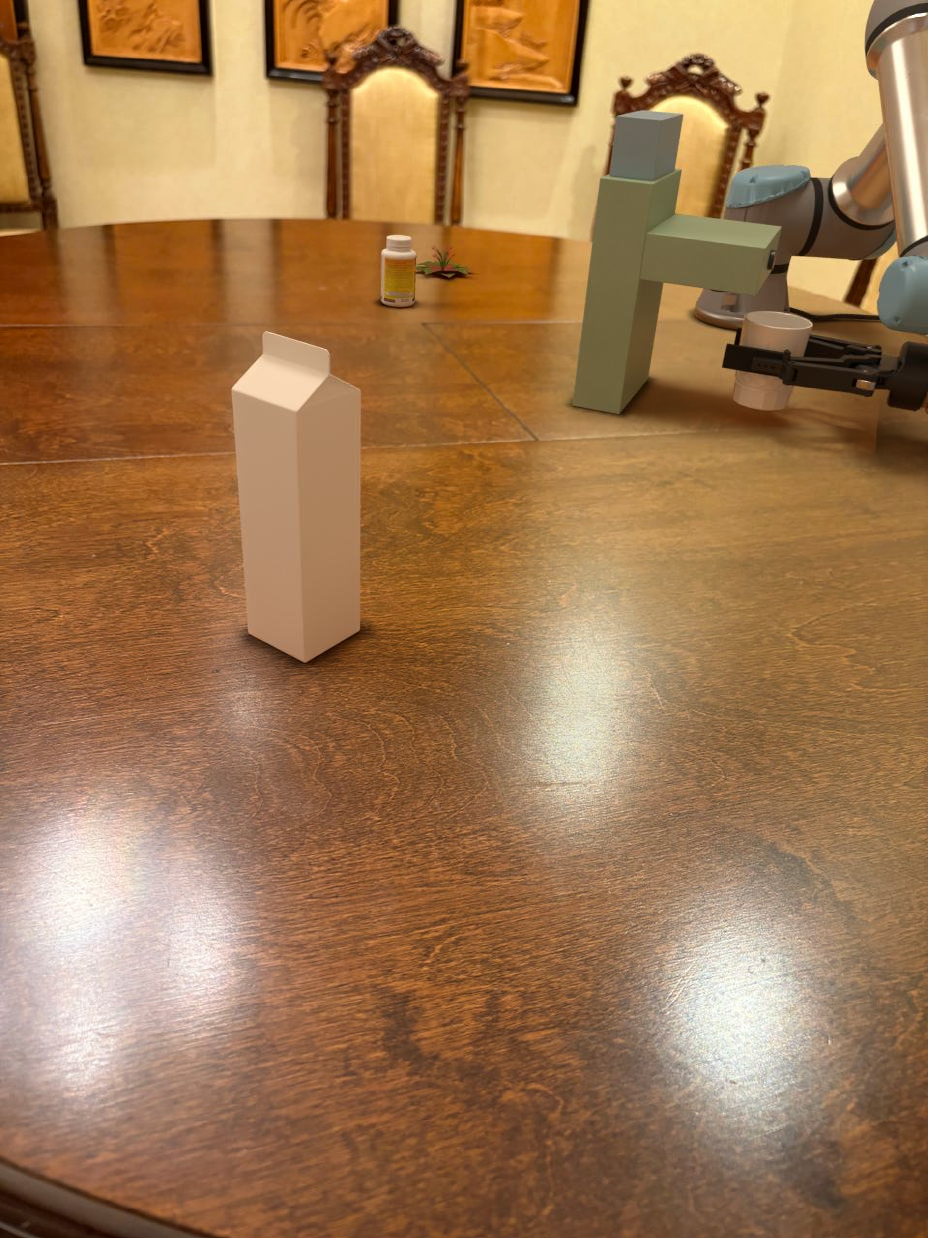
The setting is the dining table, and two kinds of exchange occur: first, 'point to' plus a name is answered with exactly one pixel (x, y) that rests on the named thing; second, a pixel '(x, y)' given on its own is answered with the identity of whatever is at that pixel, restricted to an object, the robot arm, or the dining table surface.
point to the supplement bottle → (398, 272)
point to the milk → (299, 497)
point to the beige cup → (775, 336)
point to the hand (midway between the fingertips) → (730, 346)
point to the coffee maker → (652, 258)
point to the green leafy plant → (442, 265)
